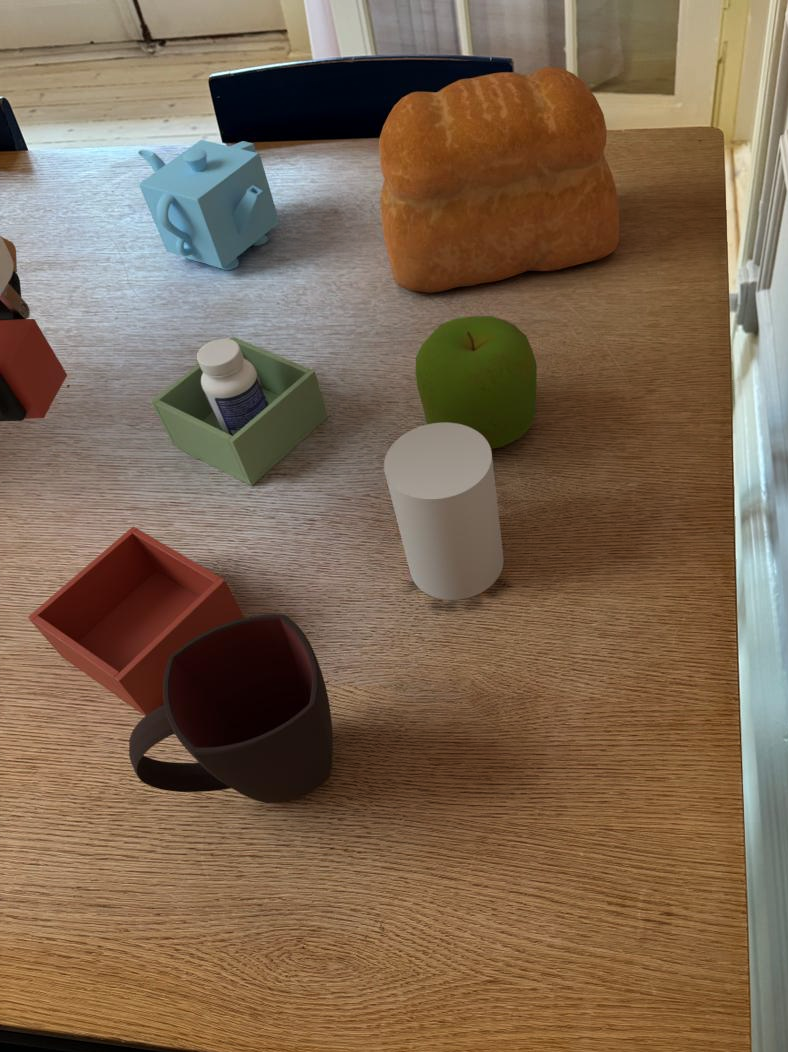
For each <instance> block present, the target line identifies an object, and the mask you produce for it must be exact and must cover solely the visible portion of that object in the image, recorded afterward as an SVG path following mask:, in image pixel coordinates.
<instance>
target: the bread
mask: <svg viewBox="0 0 788 1052" xmlns="http://www.w3.org/2000/svg"><path fill="white" fill-rule="evenodd" d="M607 129H608V128H607V124H606V120H605V115H604V112H603V110H602V107H601V105H600V104H599V102H598V99H597V97H596V95H594V93H593V91H591V89H590V88H589V87H588V85H587V84H586V83H585V82H584V81H583V80H581V79H580V78H579V77H578V76H577V75H576V74H575V73H573V72H571V71H569V70H566V69H564V68H557V67H549V66H544V67H542V68H540V69H538V70H536V71H534V72H531V73H530V74H521V73H518V72H510V71H507V72H506V71H502V72H494V73H489V74H485V75H479V76H476V77H475V76H474V77H471V78H461V79H458V80H456V81H454V82H452V83H450V84H448V85H446V86H445V87H442V88H441V89H440V90H438V91H437V92H433V91H413V92H410V93H409V94H407V95H405V96H403V97H401V99H399V101H398V102H397V103H396V104H394V105H393V107H392V109H391V111H390V112H389V114H388V116H387V118H386V120H385V121H384V124H383V126H382V130H381V132H380V135H379V139H378V141H379V142H378V143H379V144H378V151H379V152H378V153H379V157H380V164H379V165H380V171H381V174H382V176H383V183H382V188H381V195H380V200H379V203H380V215H381V216H380V217H381V227H382V233H383V239H384V243H385V244H384V245H385V248H386V252H387V257H388V261H389V264H390V269H391V272H392V276H393V280H394V282H395V283H396V284H397V286H399V287H400V288H403V289H405V290H407V291H414V292H419V293H427V294H432V293H438V292H445V291H448V290H453V289H455V288H458V287H472V286H476V285H480V284H487V283H492V282H499V281H503V280H505V279H509V278H511V277H515V276H517V275H520V274H522V273H525V272H528V271H535V272H536V271H537V272H555V271H559V270H563V269H566V268H569V267H574V266H577V265H581V264H586V263H589V262H594V261H598V260H602V259H604V258H605V257H607V256H608V255H610V254H612V253H613V252H615V251H616V249H617V248H618V244H619V241H620V218H619V204H618V191H617V186H616V182H615V179H614V176H613V173H612V171H611V169H610V166H609V164H608V161H607V159H606V156H605V148H606V145H607V137H608V136H607V133H608V130H607Z"/></svg>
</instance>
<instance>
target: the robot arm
mask: <svg viewBox="0 0 788 1052" xmlns="http://www.w3.org/2000/svg"><path fill="white" fill-rule="evenodd" d="M17 272H18V263H17V247H16V245H15V244H14V243H13V242H12V241H10V240H9V239H7V238H5V237H3V236H2V235H1V234H0V320H19V319H30V314H31V309H30V307H29V305H28V303H27V302H26V300H24V299H23V298H22V290H21V278H20V277H19V274H18V273H17ZM26 415H27V413H26V411H25V409H24V408H23V406H22V405H21V403H20V402H19V400H18V399H17V397H16V396H15V394H14V393H13V391H12V390H11V388H10V387H9V385H8V384H7V382H6V381H5V379H4V378H3V376H2V375H1V374H0V422H22V421H25V419H24V418H25V417H26Z"/></svg>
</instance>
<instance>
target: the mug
mask: <svg viewBox="0 0 788 1052" xmlns="http://www.w3.org/2000/svg"><path fill="white" fill-rule="evenodd" d="M328 694H329V693H328V691H327V686H326V682H325V678H324V675H323V672H322V669H321V666H320V663H319V661H318V658H317V655H316V653H315V651H314V648H313V647H312V644H311V642H310V640H309V639H308V638H307V636H306V634H305V633H304V631H302V629H301V628H300V627H299V625H297V624H296V623H295V622H294V621H293V620H292V619H291V618H290V617H289V616H287V615H286V614H283V613H269V614H268V613H267V614H257V615H252V616H247V617H245V618H242V619H239V620H235V621H232V622H229V623H226V624H223V625H221V626H218V627H216V628H213V629H211V630H209V631H207V632H205V633H203V634H201V635H199V636H198V637H196V638H194V639H193V640H191V641H190V642H188V643H187V644H185V645H184V646H182V647H181V648H180V649H178V650H177V651H176V652H175V653H173V654H172V655H171V656H170V657H169V659H168V663H167V667H166V671H165V676H164V684H163V698H164V704H163V705H162V706H161V707H159V708H157V709H155V710H154V711H152V712H151V713H149V714H148V715H147V716H144V717H143V718H142V719H141V720H140V721H138V723H137V724H136V725H135V727H134V728H133V729H132V731H131V734H130V737H129V740H128V741H129V742H128V743H129V744H128V756H129V757H128V758H129V760H130V763H131V766H132V769H133V771H134V773H135V775H136V776H137V778H138V780H139V781H141V782H142V783H144V784H146V785H147V786H150V787H152V788H154V789H158V790H162V791H167V792H176V793H204V792H216V791H224V790H229V789H232V790H233V791H235V792H237V793H239V794H241V795H242V796H243V797H246V798H249V799H251V800H253V801H256V802H260V803H264V804H281V803H287V802H291V801H295V800H298V799H300V798H303V797H305V796H307V795H309V794H312V792H314V791H316V790H318V789H319V788H320V787H321V786H322V785H324V784H325V783H326V782H327V781H328V780H329V779H330V777H331V773H332V768H333V762H334V761H333V760H334V732H333V722H332V721H333V720H332V713H331V706H330V705H331V704H330V700H329V695H328ZM173 735H174V736H175V737H176V738H177V739H178V741H179V742H180V744H181V745H182V746H183V748H184V749H185V750H186V751H187V752H188V753H189V754H190V755H191V756H192V757H193V758H194V759H195V760H196V761H197V762H171V761H164V760H158V759H153V758H151V757H149V756H146V755H145V754H146V753H147V752H148V751H149V750H151V749H152V748H153V747H154V746H156V745H158V743H160V742H162V741H163V740H165V739H167V738H169V737H171V736H173Z"/></svg>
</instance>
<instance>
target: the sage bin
mask: <svg viewBox="0 0 788 1052" xmlns="http://www.w3.org/2000/svg"><path fill="white" fill-rule="evenodd" d="M229 339H231V340H234V341H235V342H237V343H238V345H239V347H240V349H241V352H242V354H243V357H244V359H246V360H248V361H249V362H250V363H251V364H252V365H253V366H254V368H255V370H256V372H257V375H258V377H259V380H260V383H261V385H262V388H263V391H264V394H265V396H266V399H267V402H268V404H269V406H267V407H266V408H265V409H264V410H263V411H262V412H260V413H259V414H258V415H257V416H256V417H255V418H253V419H252V420H251V421H250V422H249V423H248V424H246V425H245V426H244V427H243V428H242V429H241V430H239V431H238V432H237V433H236V434H235V435H234V436H232V435H229V434H227V433H225V432H223V431H221V429H220V427H219V425H218V422H217V420H216V418H215V415H214V413H213V411H212V408H211V406H210V404H209V402H208V400H207V397H206V395H205V393H204V391H203V388H202V385H201V377H202V374H203V371H202V370H201V367H200V365H199V363H197V364H196V365H195V366H194V367H192V368H191V369H190V370H188V371H187V372H186V373H185V374H184V375H182V376H181V377H180V378H179V379H177V380H176V381H175V382H174V383H172V384H171V385H170V386H168V387H167V388H166V389H165V390H164V391H162V392H161V393H159V395H157V396H156V397H154V398H153V399H152V400H150V403H151V405H152V407H153V409H154V411H155V413H156V415H157V416H158V419H159V420H160V423H161V424H162V426H163V429H164V431H165V432H166V434H167V437H168V438H169V441H170V442H171V444H172V446H173V447H176V448H177V449H179V450H181V451H183V452H185V453H186V454H188V455H191V456H192V457H194V458H197V459H199V460H201V461H202V462H204V463H206V464H208V465H210V466H212V467H214V468H216V469H217V470H219V471H222V472H223V473H226V474H227V475H229V476H231V477H233V478H236V479H237V480H239V481H241V482H243V483H245V484H247V485H249V486H251V487H253V486H254V485H255V484H256V483H258V481H259V480H261V478H263V477H264V476H265V475H266V474H267V473H268V472H270V470H272V469H273V468H274V467H275V466H276V465H277V464H278V463H279V462H280V461H281V460H282V459H284V458H285V457H286V456H287V455H288V454H289V453H291V451H293V450H294V449H295V448H296V447H297V446H298V445H299V444H300V443H301V442H302V441H303V440H305V439H306V438H307V437H308V436H309V435H310V434H311V433H313V432H314V431H315V430H316V429H317V428H318V427H319V426H320V425H321V424H322V423H324V422H325V421H326V420H327V419H328V418H329V413H328V410H327V407H326V402H325V400H324V396H323V392H322V390H321V386H320V383H319V380H318V377H317V374H316V371H315V370H313V369H311V368H309V367H306V366H304V365H301V364H300V363H296V362H295V361H292V360H289V359H287V358H285V357H283V356H280V355H278V354H275V353H273V352H271V351H270V350H269V351H268V350H267V349H264V348H261V347H259V346H257V345H254V344H252V343H249V342H247V341H246V340H243V339H240V338H238V337H235V336H232V337H230V338H229Z"/></svg>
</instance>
